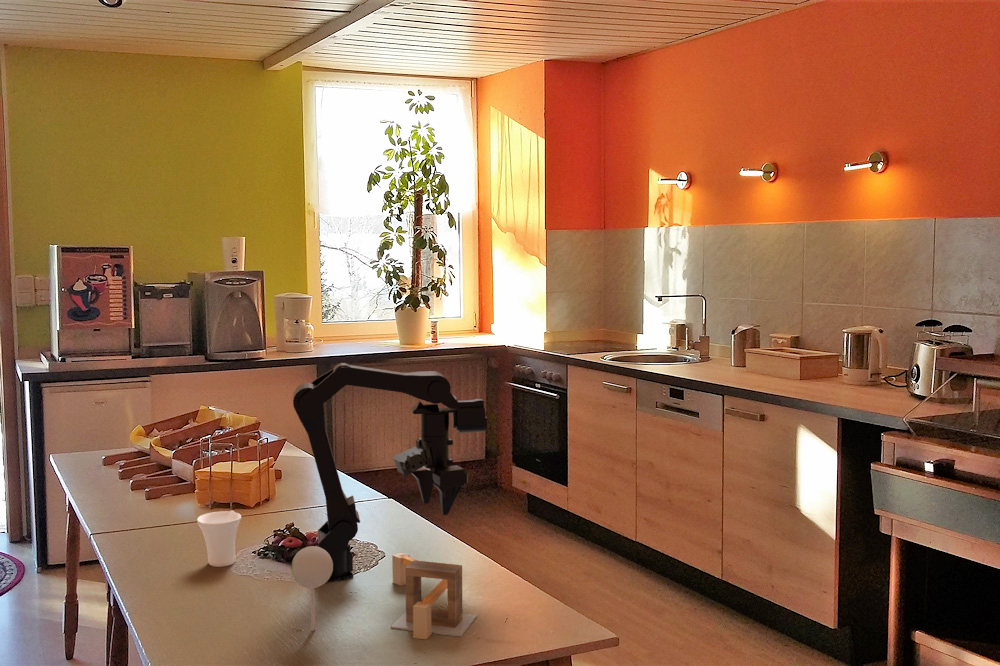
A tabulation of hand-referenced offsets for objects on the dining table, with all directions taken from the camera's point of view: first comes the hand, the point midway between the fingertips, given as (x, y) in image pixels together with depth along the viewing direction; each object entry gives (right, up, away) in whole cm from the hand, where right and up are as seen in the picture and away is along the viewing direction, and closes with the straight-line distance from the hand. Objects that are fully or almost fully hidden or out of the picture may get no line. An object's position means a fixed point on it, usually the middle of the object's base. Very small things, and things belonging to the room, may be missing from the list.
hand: (435, 509), depth 202 cm
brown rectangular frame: (+2, -15, -26) cm, 30 cm away
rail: (-2, -15, -19) cm, 24 cm away
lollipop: (-19, -16, -30) cm, 39 cm away
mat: (+2, -16, -26) cm, 31 cm away
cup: (-45, -12, +5) cm, 47 cm away
